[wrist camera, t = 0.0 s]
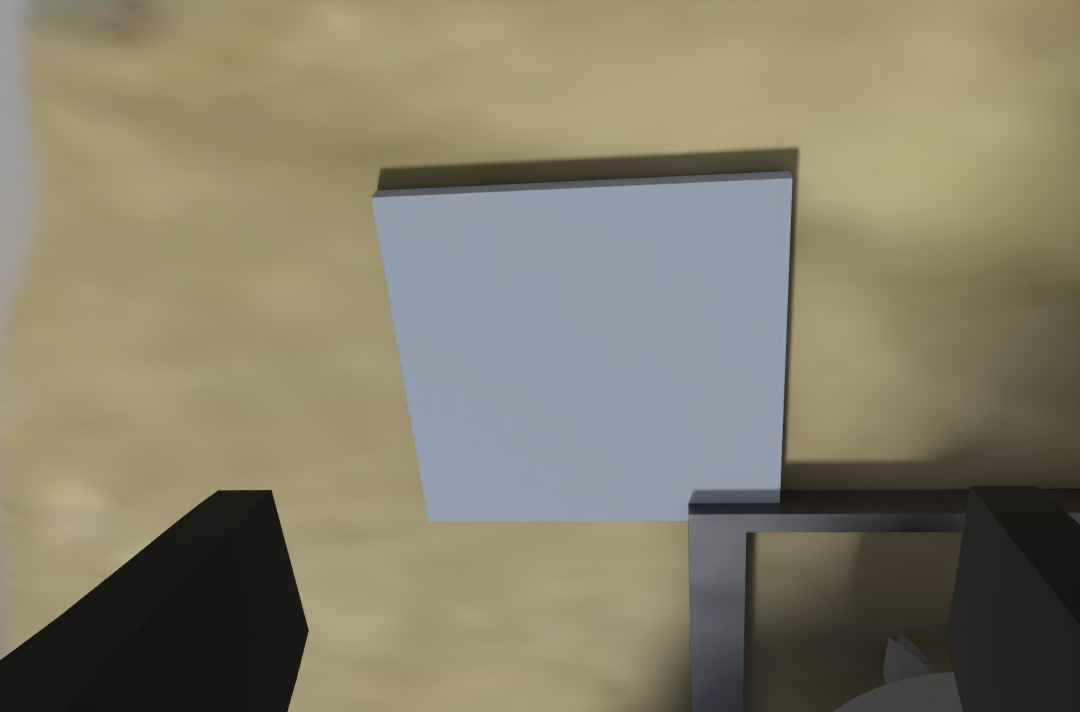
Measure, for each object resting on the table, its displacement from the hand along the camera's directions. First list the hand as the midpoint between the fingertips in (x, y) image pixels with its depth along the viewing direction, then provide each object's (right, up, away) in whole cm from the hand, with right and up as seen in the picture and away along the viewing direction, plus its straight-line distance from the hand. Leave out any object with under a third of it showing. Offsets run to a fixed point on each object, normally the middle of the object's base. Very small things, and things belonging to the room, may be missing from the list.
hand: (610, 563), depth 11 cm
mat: (0, +2, +11) cm, 11 cm away
